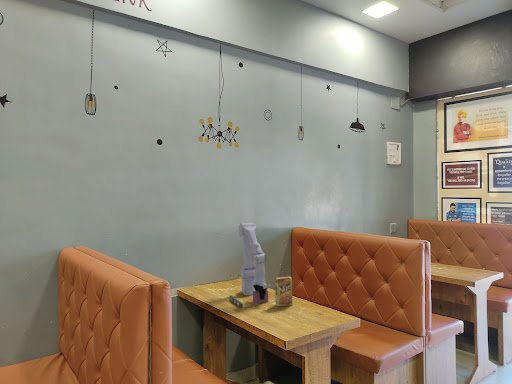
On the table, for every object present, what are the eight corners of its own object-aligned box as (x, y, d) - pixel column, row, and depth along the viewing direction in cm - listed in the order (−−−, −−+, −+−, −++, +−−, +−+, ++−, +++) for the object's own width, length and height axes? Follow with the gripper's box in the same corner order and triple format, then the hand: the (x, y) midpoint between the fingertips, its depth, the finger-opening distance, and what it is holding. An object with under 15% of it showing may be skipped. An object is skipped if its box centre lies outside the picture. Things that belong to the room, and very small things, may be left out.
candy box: (277, 307, 197) (277, 278, 197) (275, 304, 201) (274, 277, 201) (292, 305, 200) (292, 277, 200) (290, 303, 204) (289, 275, 204)
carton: (252, 301, 208) (252, 291, 208) (265, 299, 211) (265, 289, 211) (255, 303, 204) (255, 293, 204) (268, 301, 207) (268, 291, 208)
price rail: (229, 299, 213) (229, 295, 213) (231, 299, 213) (231, 295, 213) (240, 308, 196) (240, 303, 196) (242, 307, 197) (242, 303, 197)
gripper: (248, 273, 213) (249, 296, 213) (258, 278, 200) (259, 302, 200) (259, 271, 216) (260, 294, 216) (270, 276, 202) (270, 300, 202)
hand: (260, 298), depth 208 cm, fingers closed on carton, 4 cm apart
